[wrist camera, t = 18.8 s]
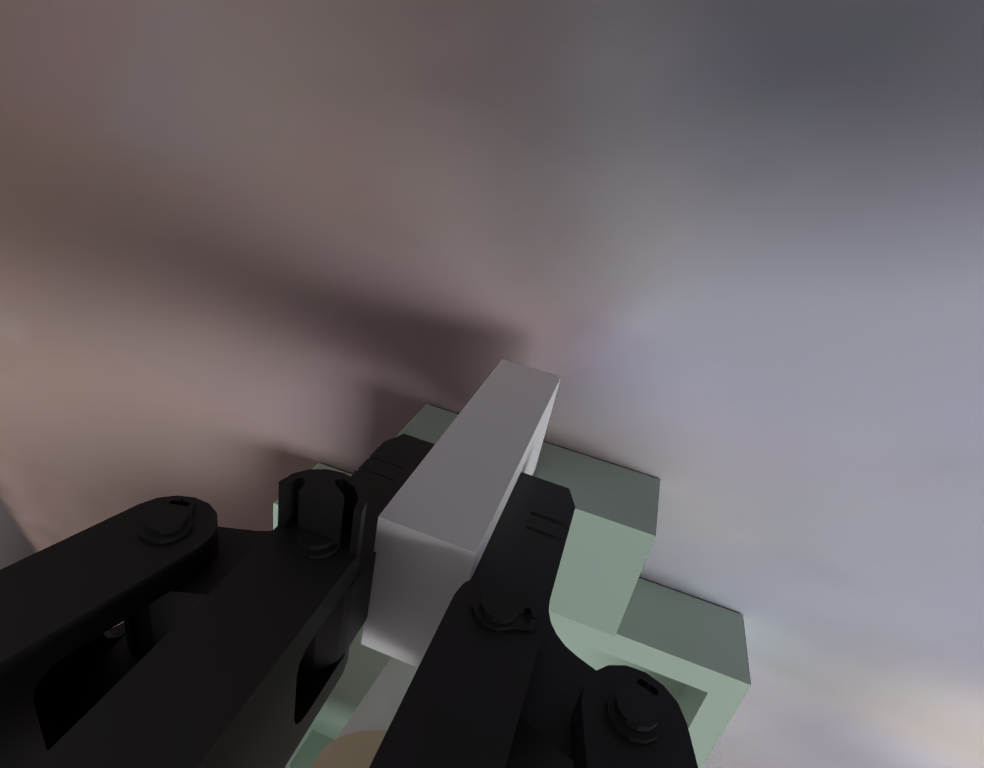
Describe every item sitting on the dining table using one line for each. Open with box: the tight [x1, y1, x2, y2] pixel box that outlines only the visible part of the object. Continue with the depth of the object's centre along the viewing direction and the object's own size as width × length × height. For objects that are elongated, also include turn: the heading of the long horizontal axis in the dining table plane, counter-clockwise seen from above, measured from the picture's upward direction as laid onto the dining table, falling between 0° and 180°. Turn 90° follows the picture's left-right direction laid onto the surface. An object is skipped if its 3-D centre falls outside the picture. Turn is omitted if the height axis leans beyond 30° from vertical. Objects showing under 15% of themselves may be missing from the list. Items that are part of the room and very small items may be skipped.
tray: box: [273, 404, 751, 768], centre depth 19 cm, size 18×14×2 cm
